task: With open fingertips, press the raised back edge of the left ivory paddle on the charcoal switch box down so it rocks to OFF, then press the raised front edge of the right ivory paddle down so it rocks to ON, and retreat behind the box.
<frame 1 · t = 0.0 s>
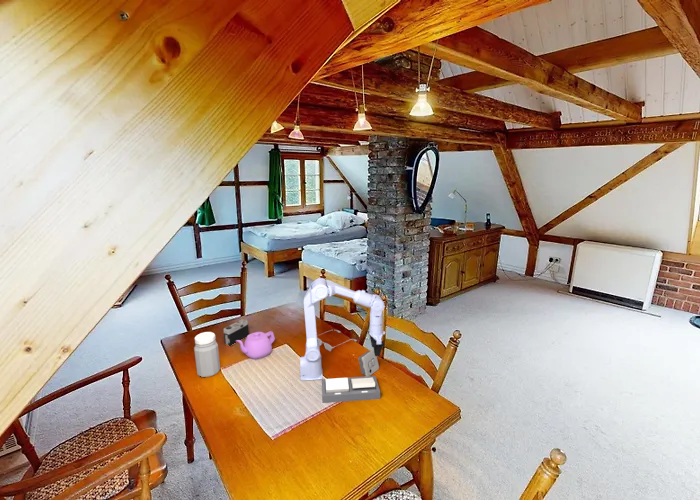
hand: (375, 351, 151), 10 cm above the table, fingers open, 7 cm apart
left paddle: (337, 385, 137), point 4 cm above the table, hinge at 13.0°
right paddle: (362, 382, 139), point 4 cm above the table, hinge at -13.0°
electrical switch: (368, 371, 153), on the table
switch box: (350, 392, 139), on the table
camera: (235, 339, 182), on the table
teapot: (256, 354, 168), on the table
eyeglasses: (336, 342, 180), on the table
jar: (209, 372, 153), on the table
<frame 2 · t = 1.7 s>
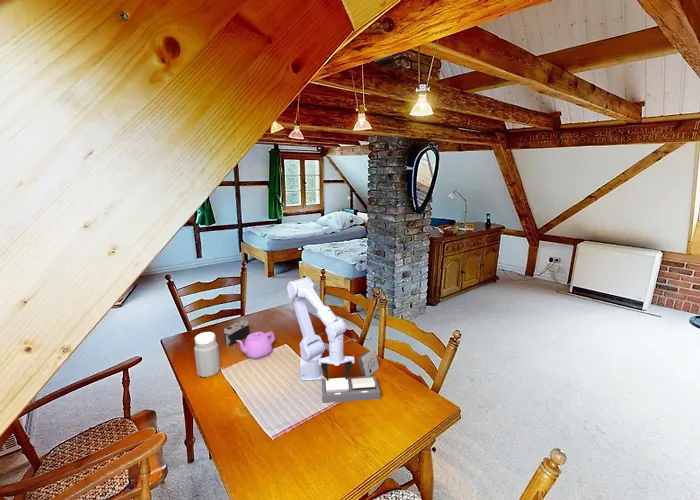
hand: (336, 378, 139), 5 cm above the table
left paddle: (337, 385, 137), point 4 cm above the table, hinge at 13.0°, touching gripper
everything else where it was.
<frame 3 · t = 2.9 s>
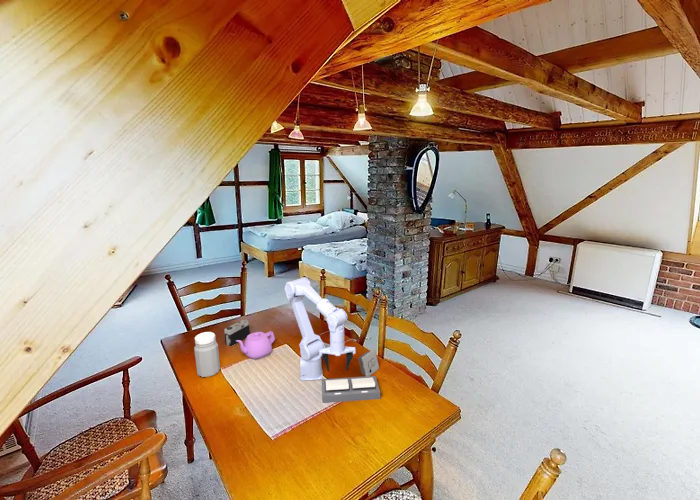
hand: (337, 369, 138), 9 cm above the table, fingers open, 7 cm apart
left paddle: (337, 384, 138), point 4 cm above the table, hinge at -10.9°
everything else where it was.
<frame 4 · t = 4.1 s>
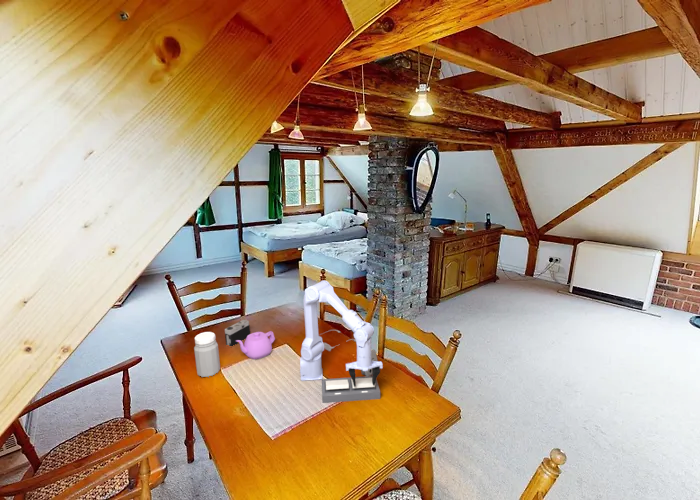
hand: (364, 384, 136), 5 cm above the table
left paddle: (337, 384, 138), point 4 cm above the table, hinge at -16.1°
right paddle: (362, 382, 139), point 4 cm above the table, hinge at -12.6°, touching gripper
everything else where it was.
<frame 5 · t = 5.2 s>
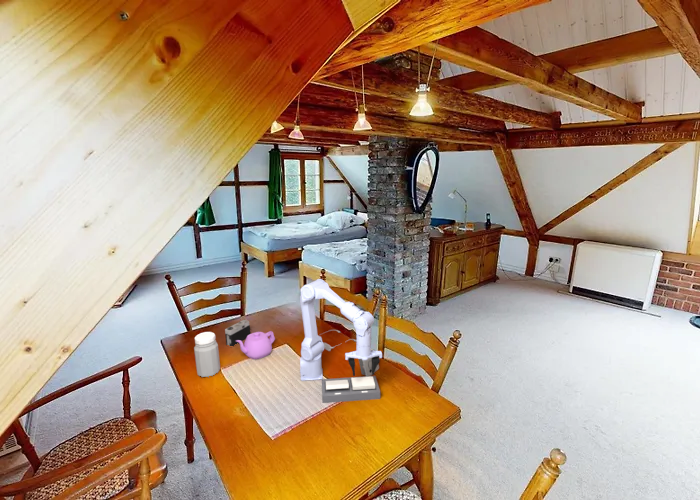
hand: (363, 373, 135), 9 cm above the table, fingers open, 7 cm apart
left paddle: (337, 384, 138), point 4 cm above the table, hinge at -18.2°
right paddle: (363, 383, 139), point 4 cm above the table, hinge at 2.8°
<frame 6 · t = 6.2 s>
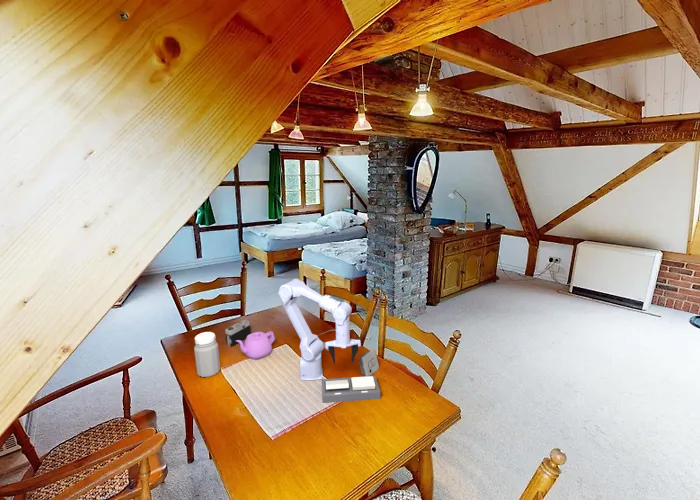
hand: (343, 361, 142), 10 cm above the table, fingers open, 7 cm apart
left paddle: (337, 384, 138), point 4 cm above the table, hinge at -19.1°
right paddle: (363, 383, 139), point 4 cm above the table, hinge at 6.2°
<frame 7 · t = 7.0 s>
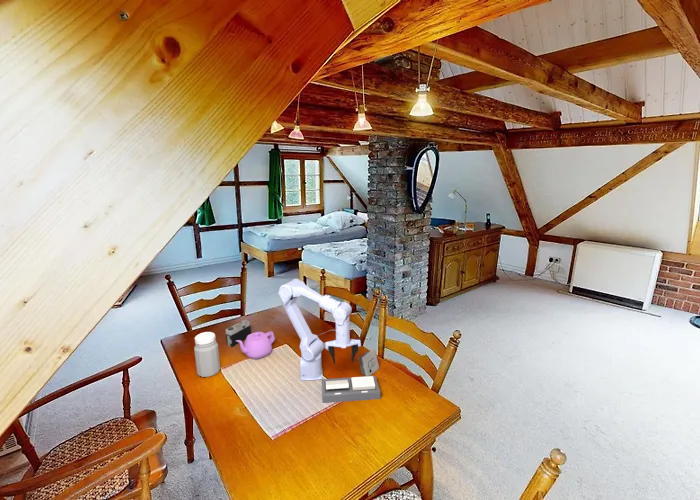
hand: (343, 361, 142), 10 cm above the table, fingers open, 7 cm apart
left paddle: (337, 384, 138), point 4 cm above the table, hinge at -19.4°
right paddle: (363, 383, 139), point 4 cm above the table, hinge at 7.6°
at the end: left paddle at -20° (first picture: +13°); right paddle at +8° (first picture: -13°) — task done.
